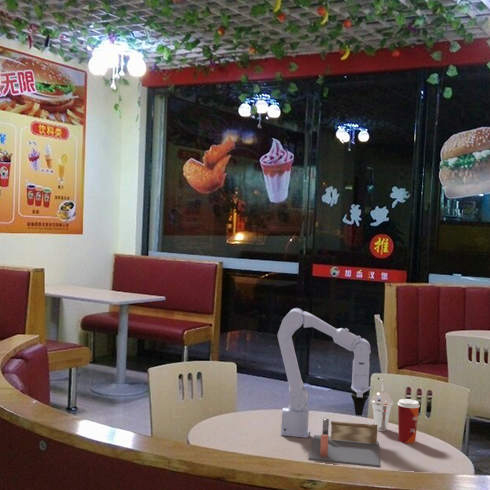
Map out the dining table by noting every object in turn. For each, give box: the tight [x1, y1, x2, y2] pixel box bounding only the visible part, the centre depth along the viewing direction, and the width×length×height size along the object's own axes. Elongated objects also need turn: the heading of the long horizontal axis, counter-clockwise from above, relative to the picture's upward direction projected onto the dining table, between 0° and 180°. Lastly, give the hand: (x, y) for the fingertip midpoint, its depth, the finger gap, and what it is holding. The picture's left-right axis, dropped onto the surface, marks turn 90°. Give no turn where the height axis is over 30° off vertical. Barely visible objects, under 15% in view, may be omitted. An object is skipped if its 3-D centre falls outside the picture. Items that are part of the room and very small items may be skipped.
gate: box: [330, 420, 378, 444], centre depth 228 cm, size 16×2×6 cm, turn 80°
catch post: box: [320, 434, 330, 457], centre depth 214 cm, size 2×2×7 cm
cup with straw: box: [369, 377, 394, 432], centre depth 246 cm, size 8×9×20 cm
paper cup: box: [397, 398, 421, 444], centre depth 234 cm, size 8×8×14 cm
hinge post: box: [321, 418, 330, 436], centre depth 230 cm, size 2×2×8 cm
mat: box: [308, 434, 380, 468], centre depth 221 cm, size 22×24×1 cm
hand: (358, 412), depth 233 cm, fingers open, 5 cm apart
